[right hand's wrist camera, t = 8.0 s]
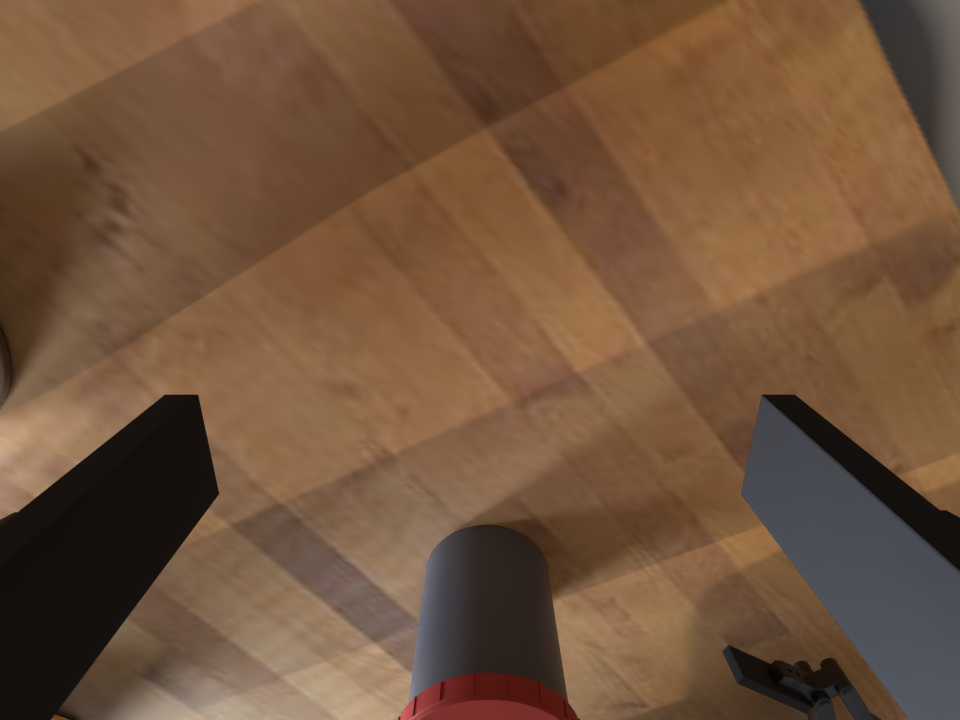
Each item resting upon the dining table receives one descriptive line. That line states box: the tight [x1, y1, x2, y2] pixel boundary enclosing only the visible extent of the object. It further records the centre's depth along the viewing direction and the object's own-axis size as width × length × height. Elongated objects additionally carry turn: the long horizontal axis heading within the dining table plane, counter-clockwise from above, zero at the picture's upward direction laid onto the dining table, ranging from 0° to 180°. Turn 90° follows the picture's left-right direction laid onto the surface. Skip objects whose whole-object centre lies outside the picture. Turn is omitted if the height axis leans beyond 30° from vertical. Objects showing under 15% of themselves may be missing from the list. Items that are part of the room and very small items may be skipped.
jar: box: [409, 526, 568, 703], centre depth 39 cm, size 10×10×15 cm
